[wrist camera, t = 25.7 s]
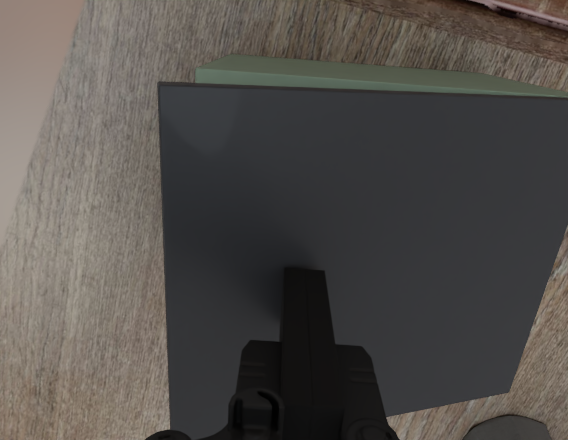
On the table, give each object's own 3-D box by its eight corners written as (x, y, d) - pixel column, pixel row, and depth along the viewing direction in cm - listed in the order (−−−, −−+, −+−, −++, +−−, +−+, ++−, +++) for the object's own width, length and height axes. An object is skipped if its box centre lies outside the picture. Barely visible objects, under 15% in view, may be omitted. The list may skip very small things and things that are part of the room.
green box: (225, 259, 35) (196, 361, 24) (230, 53, 29) (195, 67, 18) (435, 273, 36) (500, 381, 25) (483, 73, 30) (595, 98, 19)
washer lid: (170, 444, 20) (171, 460, 19) (157, 81, 14) (158, 84, 13) (498, 382, 25) (509, 392, 24) (593, 98, 19) (611, 101, 18)
